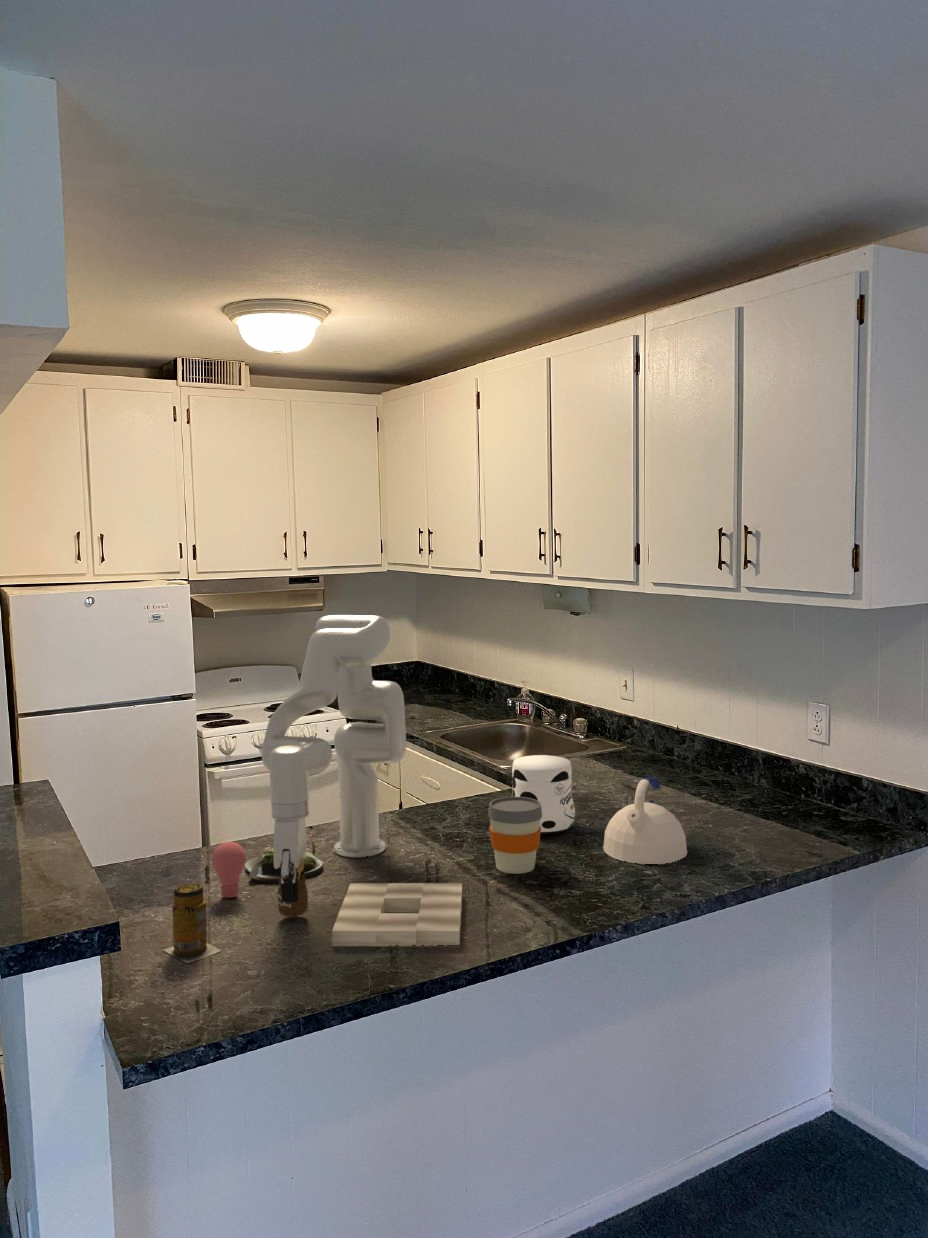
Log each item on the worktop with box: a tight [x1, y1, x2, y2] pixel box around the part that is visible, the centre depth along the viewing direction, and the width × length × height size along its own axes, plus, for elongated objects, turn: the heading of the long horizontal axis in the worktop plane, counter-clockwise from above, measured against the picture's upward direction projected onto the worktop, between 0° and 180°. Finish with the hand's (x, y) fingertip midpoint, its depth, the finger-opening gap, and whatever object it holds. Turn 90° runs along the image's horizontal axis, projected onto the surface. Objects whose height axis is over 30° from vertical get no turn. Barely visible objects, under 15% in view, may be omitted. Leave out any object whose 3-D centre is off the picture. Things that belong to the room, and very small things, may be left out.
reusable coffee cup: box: [487, 796, 542, 875], centre depth 214 cm, size 13×12×15 cm
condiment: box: [163, 883, 222, 964], centre depth 172 cm, size 7×8×12 cm
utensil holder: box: [277, 857, 309, 917], centre depth 186 cm, size 6×6×12 cm
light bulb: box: [211, 841, 247, 899], centre depth 198 cm, size 7×7×12 cm
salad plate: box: [244, 848, 324, 884], centre depth 215 cm, size 19×18×5 cm
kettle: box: [602, 776, 688, 865], centre depth 224 cm, size 20×21×18 cm
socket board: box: [331, 882, 463, 947], centre depth 185 cm, size 24×24×3 cm
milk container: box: [511, 754, 576, 835], centre depth 242 cm, size 17×17×18 cm
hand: (293, 894), depth 186 cm, fingers closed on utensil holder, 5 cm apart
